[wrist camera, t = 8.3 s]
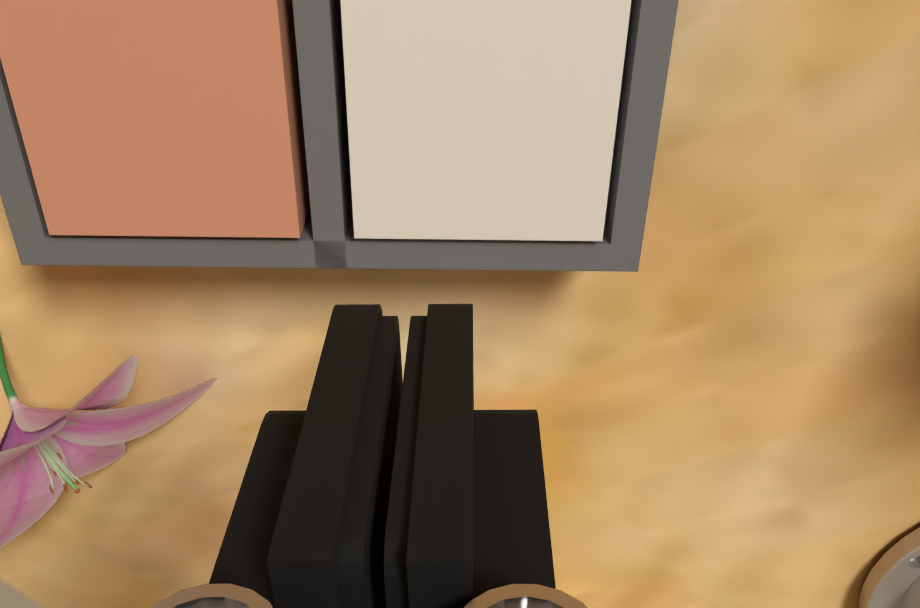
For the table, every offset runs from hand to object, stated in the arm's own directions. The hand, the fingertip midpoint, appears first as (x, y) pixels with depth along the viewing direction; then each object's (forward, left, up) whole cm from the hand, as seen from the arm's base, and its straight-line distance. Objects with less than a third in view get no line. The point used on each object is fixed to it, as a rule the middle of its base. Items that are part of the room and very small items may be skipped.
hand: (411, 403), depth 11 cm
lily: (-16, +15, -21) cm, 30 cm away
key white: (-2, -1, -18) cm, 18 cm away
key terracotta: (-2, +8, -18) cm, 20 cm away
